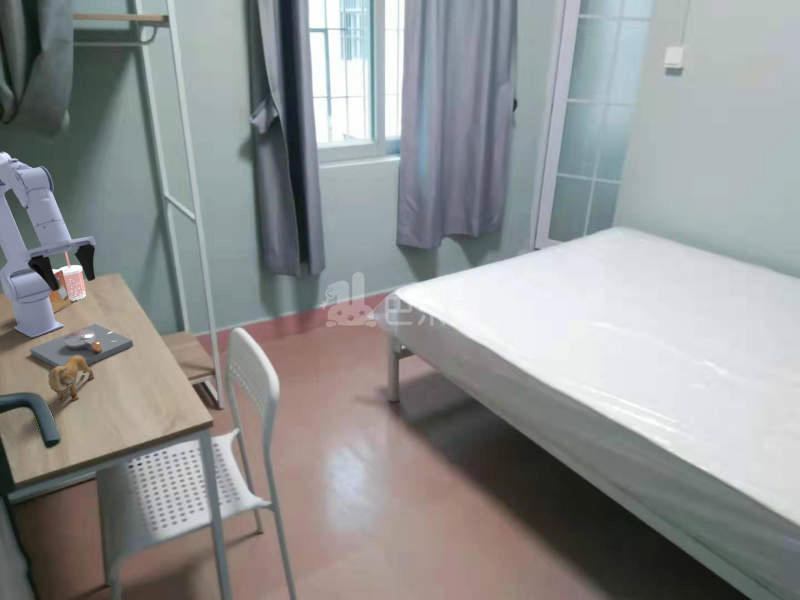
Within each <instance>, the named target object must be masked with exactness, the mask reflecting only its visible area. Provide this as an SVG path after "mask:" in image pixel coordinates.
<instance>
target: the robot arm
mask: <svg viewBox="0 0 800 600" xmlns="http://www.w3.org/2000/svg"><path fill="white" fill-rule="evenodd" d="M54 188H55V187H54V183H53V178H52V176H51V174H50V172H49V171H48V169H47V168H46V167H45V166H43V165H40V166H37V167H34V168H33V167H31V166H29V165H28V164H26V163H24V162H21V161H19V159H18V158H12V157H11V155H10V154H9V153H7V152H5V151H1V152H0V248H1V250H2V252H3V254H4V256H5V260H6V261H7V262H6V263H5V265H4V266H3V267H2V268H1V269H0V282H1V283H0V284H1V288H2V290H3V292H4V295H5V296H6V298H7V299H8V300H9V301H11V306H12V307H11V308H12V310H13V314H14V317H15V320H16V325H15V326H14V327H13V329H14V330H16V331H18V332H20V333H22V334H23V335H25V336H28V337H29V338H36V337H39V336H42V335H44V334H47V333H50V332H52V331H55V330H58V329H60V328H63V327H64V324H63V323H61V322H59V321H57V320H56V317H55V313H53V310H52V306H51V302H50V299H49V295H51V293H50V291H56V290H58V289H60V288H59V285H58V282H57V280H56V278H55V276H54V274H53V271H52V269H53V268H52V264H51V261H50V260H51V259H50V257H49V256H53V255H58V254H63V253H65V252H67V253H68V252H70V251H71V252H72V251H75V250H76V252H75V253H74V256H75V257H76V259H77V261H78V262H79V265H80V266H82V269H83V270H82V271H83V273H84V275H85V277H86V279H87V282H91V281H93V280H94V281H95V280H96V276H95V270H94V269H95V268H94V257H95V250H96V247H95V245H96V244H97V243H96V240H95V237H94V236H93V235H91V236H87V237H79V238H73V239H72V237H71V235H70V233H69V230H68V228H67V225H66V223H65V220H64V218H63V215H62V213H61V210H60V208H59V206H58V204H57V201H56V198H55V196H54V194H53V193H54ZM11 189H12V191H13V193H14V195H15V197H16V198H17V199H18V200H19V202H20V205H21V206H22V207H23V208H25V210H26V213H27V214H28V217H29V220H30V222H31V224H32V226H33V229H34V232H35V234H36V237H37V239H38V241H39V244H40V245H41V246H39V247H36V248H31V249H27V247H26V245H25V242H24V240H23V238H22V235H21V233H20V231H19V228H18V226H17V223H16V221H15V218H14V215H13V214H12V211H11V208H10V206H9V204H8V201H7V200H6V196H5V194H6V192H7V191H9V190H11ZM23 271H24V272H23ZM19 272H20V273H19Z"/></svg>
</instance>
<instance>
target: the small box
mask: <svg viewBox="0 0 800 600" xmlns="http://www.w3.org/2000/svg"><path fill="white" fill-rule="evenodd" d="M59 269H60V268H59ZM59 269H56V268H52V271H53V274H54V276H55V278H56V280H57V282H58V285H59V288H60V289H58V290H56V291H50V293H51V295H49V299H50V302H51V306H52V310H53V313H54V314H55V313H56V312H59V311H60V310H62V309H64V308H66V307H68V306H71V301H70V299H69V295H68V291H67V287H66V283H65V279H64V275H63V271H62V270H59Z"/></svg>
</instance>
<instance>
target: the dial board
mask: <svg viewBox="0 0 800 600" xmlns="http://www.w3.org/2000/svg"><path fill="white" fill-rule="evenodd" d="M79 330H92V331H94V333H95V337H96V341H100V344H101V348H102V352H100V353H94V352H92V351H90V350H88V349H86V348H84V349H79V350H70V349H68V348H67V347H66V344H65V340H64V338H65V336H67V335H68V334H69V333H68V334H64V335H62V336H59V337H57V338H54V339H52V340H49V341H47V342H44V343H42V344H41V343H40V344H39V345H36V346H33V347H31V348H29V351H30V355H32V356H34V357H36V358H37V359H39V360H41V361H43V362H44V363H47V364H48V365H50V366H52V367H53V368H54V367H56V366H62V367H64V365H65V364H66V362H67V361H68V359H69V358H71V357H74V356H77V355H79V356H81V357H83V358H84V359H85V361H86V363H87V365H88V366H90V365H92V364H95V363H97V362H99V361H101V359H102V360H104V359H106V358H109V357H110V356H113V355H116V354H117V353H120V352H123V351H124V350H126V349H129V348H131V347H133V346H134V343H133V340H132V339H131V338H128V337H125V336H123V335H122V334H119V333H117V332H116V331H115V332H114V331H112V330H110V329H108V328H105V327H104V326H101V325H99V324H96V323H93V324H91V325H89V326H86V327H83V328H81V329H78V330H77V331H79ZM94 362H95V363H94Z"/></svg>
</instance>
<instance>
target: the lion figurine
mask: <svg viewBox="0 0 800 600" xmlns="http://www.w3.org/2000/svg"><path fill="white" fill-rule="evenodd" d="M80 371H82V373H83V374H86V373H88V376H87V379H89V380H93V379H94V378H95V374H94V373H93V369H92V368H91V367H89V365H87V363H86V361H85V359H84V358H83V357H81V356H79V355H77V356H74V357H71V358H69V359H68V361H67V362H66V364H65V365H64V367H62V366H56V367H53V368H51V370H50V371H49V372H48V375H47V378H48V385H49V388H50V389H51V390H53V391H54V392H55V393H56V394H57V396H58V398H59V399H57V403H59V404H62V403H64V402H65V396H64V393H66V392H68V391H70V397H71V400H72V401H74V402H75V401H77V400H79V399H80V398H79V396H78V393H77V391H76V385H77V379H78V374H79V372H80ZM61 402H62V403H61Z"/></svg>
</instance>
